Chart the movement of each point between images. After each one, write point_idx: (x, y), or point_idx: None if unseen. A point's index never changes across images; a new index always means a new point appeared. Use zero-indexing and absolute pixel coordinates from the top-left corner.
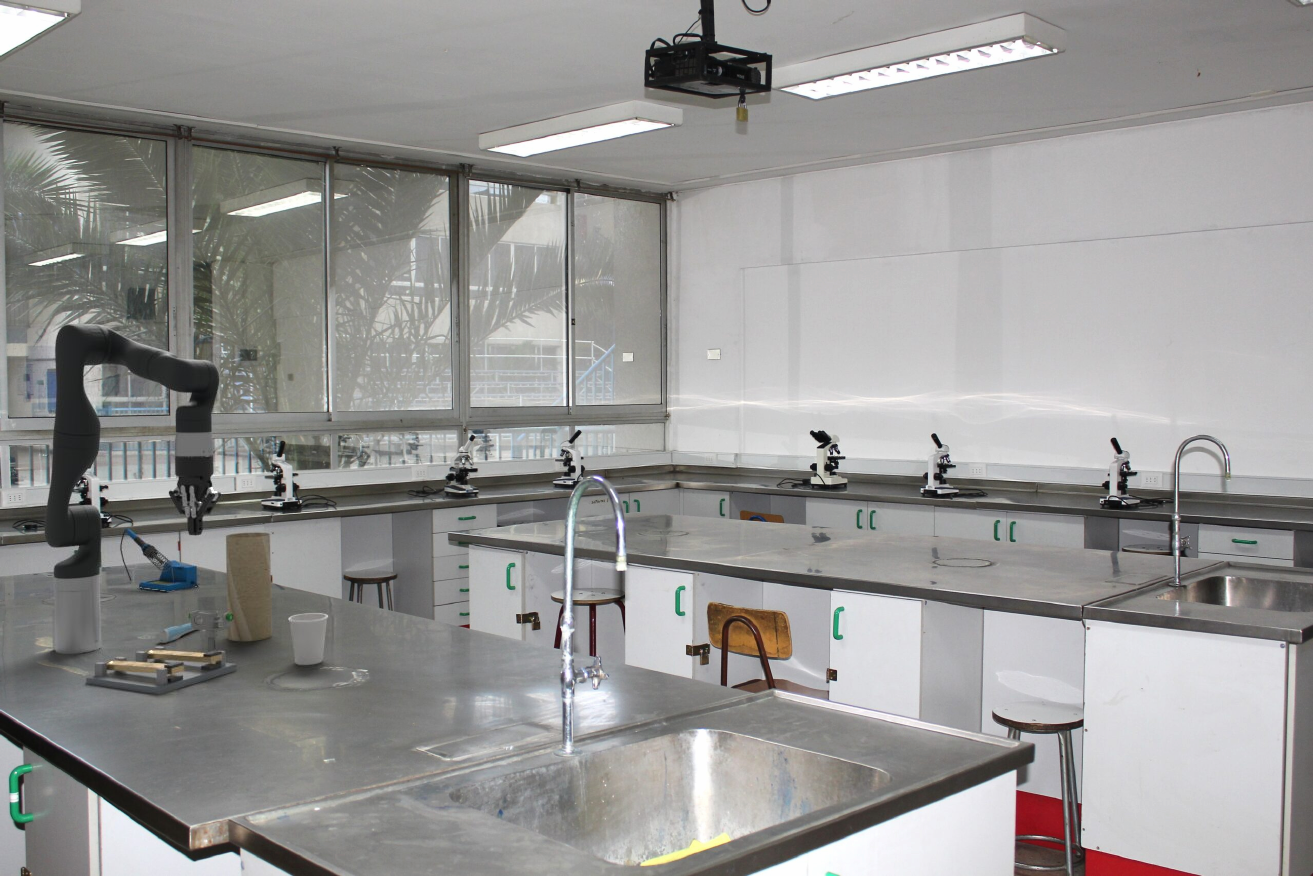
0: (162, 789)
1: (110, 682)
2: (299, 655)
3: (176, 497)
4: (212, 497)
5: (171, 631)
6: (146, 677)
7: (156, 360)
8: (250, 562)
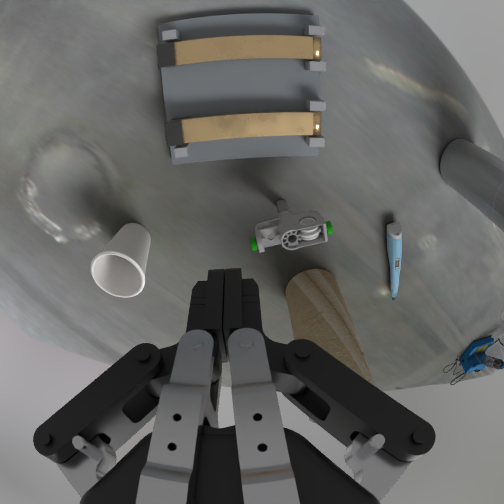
0: None
1: (265, 13)
2: (125, 228)
3: (366, 426)
4: (43, 428)
5: (392, 242)
6: None
7: None
8: None
